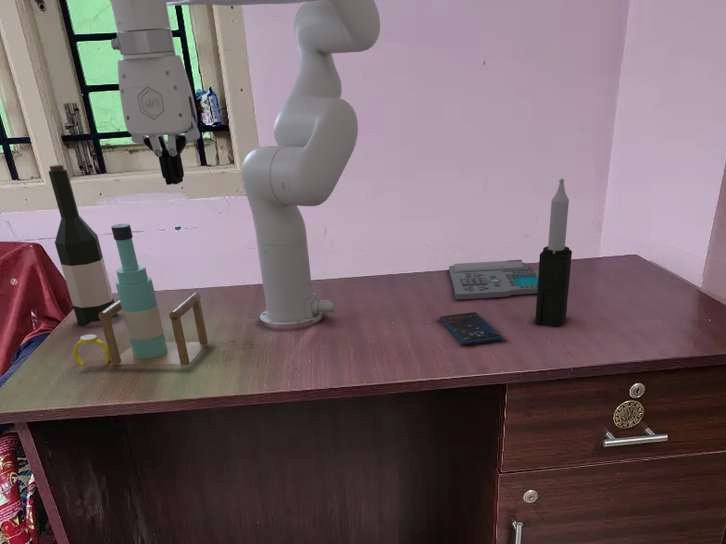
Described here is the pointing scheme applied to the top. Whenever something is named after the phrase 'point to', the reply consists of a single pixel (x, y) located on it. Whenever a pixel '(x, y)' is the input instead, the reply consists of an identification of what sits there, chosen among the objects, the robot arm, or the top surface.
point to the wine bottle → (79, 254)
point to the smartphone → (470, 328)
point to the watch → (90, 339)
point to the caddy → (176, 351)
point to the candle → (554, 266)
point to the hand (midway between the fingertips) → (174, 182)
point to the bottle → (138, 299)
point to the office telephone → (493, 279)
